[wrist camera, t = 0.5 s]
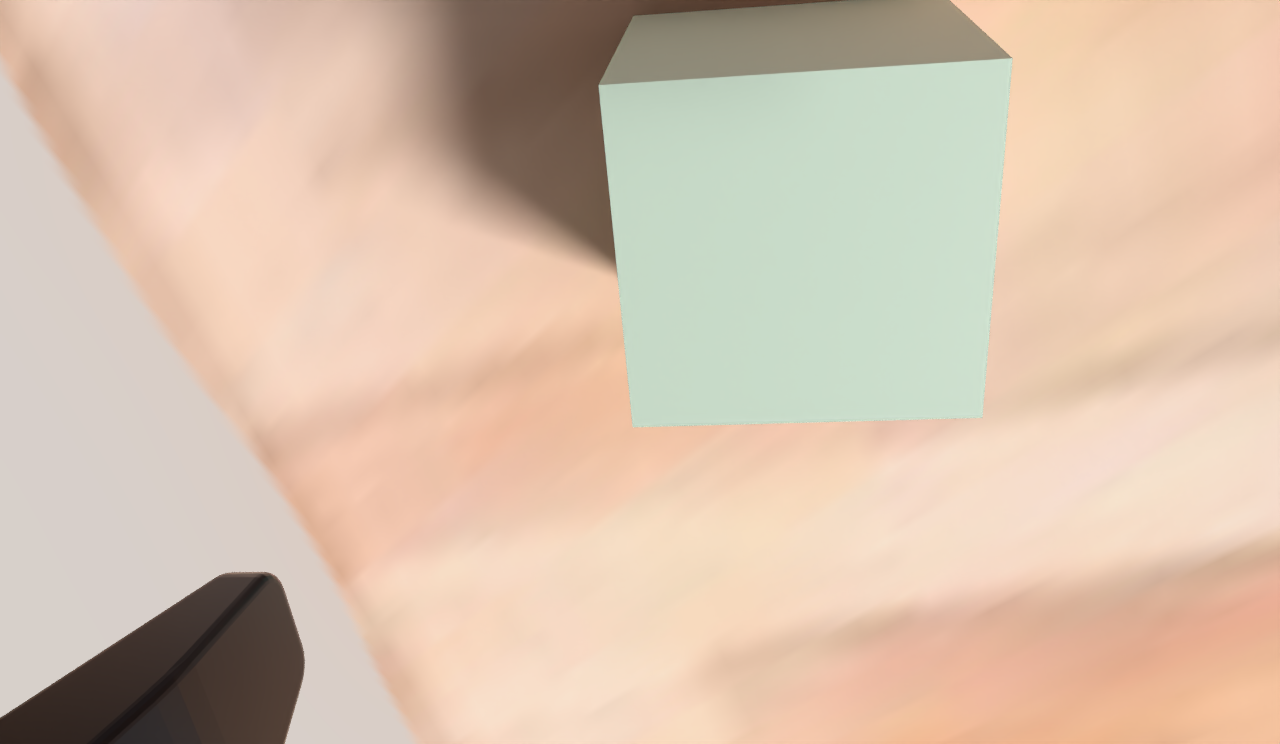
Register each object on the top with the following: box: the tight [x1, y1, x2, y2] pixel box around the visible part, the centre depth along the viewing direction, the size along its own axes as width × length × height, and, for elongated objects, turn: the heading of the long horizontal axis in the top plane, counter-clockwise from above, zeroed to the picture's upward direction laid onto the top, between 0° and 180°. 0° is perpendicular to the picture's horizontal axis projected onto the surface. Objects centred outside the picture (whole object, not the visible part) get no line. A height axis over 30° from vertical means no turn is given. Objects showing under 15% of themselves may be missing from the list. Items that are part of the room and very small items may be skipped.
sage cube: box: [598, 0, 1012, 427], centre depth 16 cm, size 5×5×5 cm
